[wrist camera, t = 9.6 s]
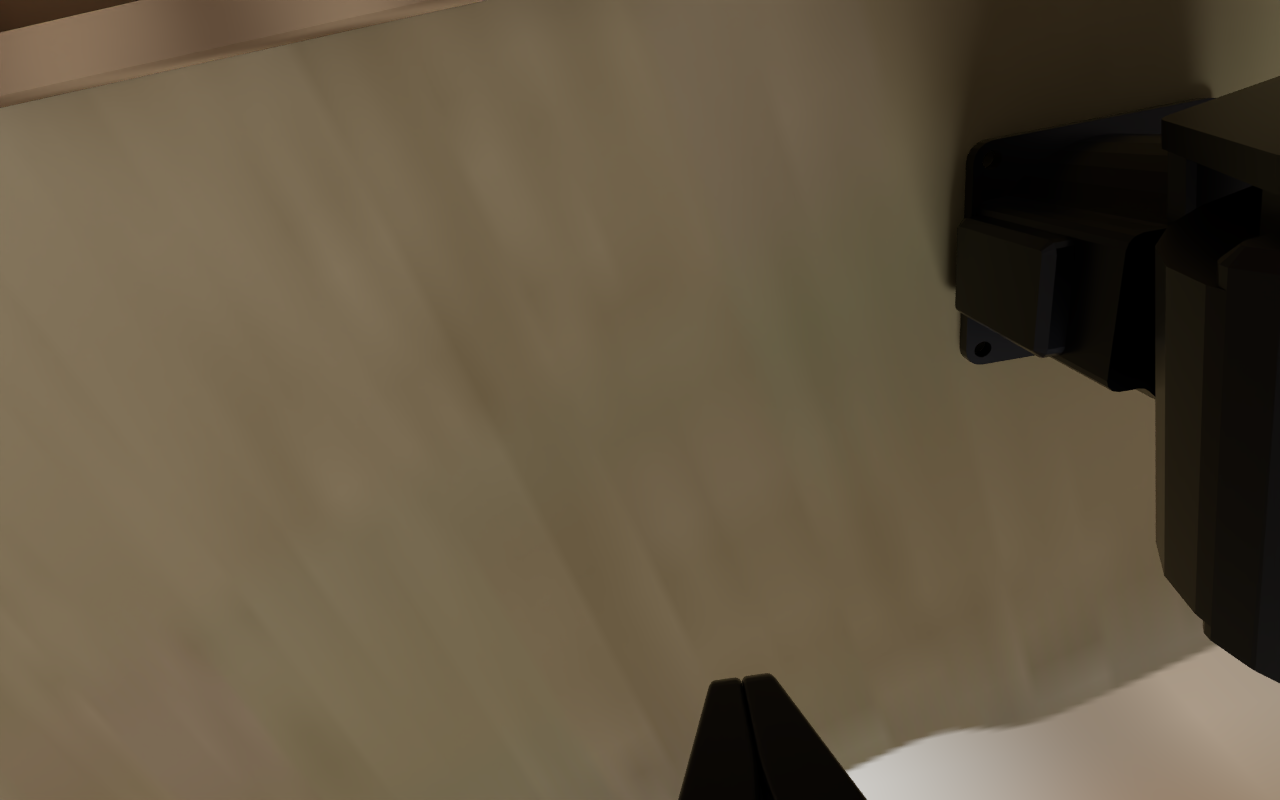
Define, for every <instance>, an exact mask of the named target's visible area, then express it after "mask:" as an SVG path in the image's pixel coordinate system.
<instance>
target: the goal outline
mask: <svg viewBox="0 0 1280 800" xmlns="http://www.w3.org/2000/svg"><path fill="white" fill-rule="evenodd" d="M480 1H485V0H139V1H135V2H131V3H126V4H122V5H117V6H113V7H109V8H104V9H100V10H96V11H91V12H87V13H83V14H78V15H74V16H70V17H65V18H61V19H57V20H52V21H48V22H44V23H39V24H35V25H31V26H26V27H22V28H18V29H13V30H9V31H5V32H0V108H1V107H6V106H10V105H15V104H20V103H24V102H29V101H33V100H38V99H42V98H47V97H51V96H56V95H60V94H65V93H69V92H74V91H78V90H83V89H87V88H92V87H96V86H101V85H105V84H110V83H114V82H119V81H123V80H128V79H132V78H137V77H141V76H146V75H150V74H155V73H159V72H164V71H169V70H173V69H178V68H182V67H187V66H191V65H196V64H200V63H205V62H209V61H214V60H218V59H223V58H227V57H232V56H236V55H241V54H245V53H250V52H254V51H259V50H263V49H268V48H272V47H277V46H281V45H286V44H290V43H295V42H299V41H304V40H309V39H313V38H318V37H322V36H327V35H331V34H336V33H340V32H345V31H349V30H354V29H358V28H363V27H367V26H372V25H376V24H381V23H385V22H390V21H394V20H399V19H403V18H408V17H412V16H417V15H421V14H426V13H430V12H435V11H439V10H444V9H448V8H453V7H458V6H462V5H467V4H471V3H476V2H480Z"/></svg>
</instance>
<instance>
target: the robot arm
mask: <svg viewBox="0 0 1280 800" xmlns="http://www.w3.org/2000/svg"><path fill="white" fill-rule="evenodd" d="M989 151H992V152H993V154H994V159H993V163H992V164H991V165H990V166H989V167H987V168H985V167H984V166H983V158H984V156H985V155H986V154H987V152H989ZM955 307H956V309H957V310H958V311H960V312H961V328H960V351H961V354H962V355H963V357H964V358H966V359H967V360H969V361H970V362H972V363H974V364H987V363H993V362H999V361H1004V360H1010V359H1016V358H1022V357H1028V356H1034V355H1036V356H1038V357H1041V358H1044V357H1051V358H1053V359H1055V360H1057V361H1059V362H1060V363H1062V364H1064V365H1066V366H1068V367H1069V368H1071V369H1073V370H1075V371H1077V372H1079V373H1080V374H1082V375H1084V376H1086V377H1088V378H1089V379H1091V380H1093V381H1095V382H1097V383H1099V384H1100V385H1102V386H1104V387H1106V388H1108V389H1110V390H1111V391H1116V392H1121V391H1127V390H1133V389H1136V390H1138V391H1140V392H1142V393H1144V394H1146V395H1148V396H1150V397H1152V398H1154V399H1155V402H1156V544H1157V548H1158V552H1159V556H1160V560H1161V564H1162V568H1163V572H1164V576H1165V577H1166V578H1167V579H1168V581H1169V582H1170V583H1171V584H1172V586H1173V587H1174V588H1175V589H1176V591H1177V592H1178V593H1179V594H1180V596H1181V597H1182V598H1183V599H1184V600H1185V602H1186V603H1187V604H1188V605H1189V607H1190V608H1191V609H1192V610H1193V612H1194V613H1195V614H1196V615H1197V616H1198V617H1200V618H1201V619H1202V620H1203V630H1204V634H1205V635H1206V636H1207V637H1208V638H1209V639H1210V640H1211V641H1212V642H1214V643H1215V644H1217V645H1218V646H1219V647H1221V648H1222V649H1224V650H1225V651H1227V652H1228V653H1229V654H1231V655H1232V656H1234V657H1235V658H1237V659H1238V660H1240V661H1241V662H1242V663H1244V664H1245V665H1247V666H1248V667H1250V668H1251V669H1253V670H1255V671H1256V672H1258V673H1260V674H1262V675H1264V676H1266V677H1268V678H1270V679H1272V680H1275V681H1276V682H1278V683H1280V76H1278V77H1276V78H1273V79H1270V80H1267V81H1264V82H1261V83H1258V84H1256V85H1253V86H1250V87H1247V88H1244V89H1241V90H1238V91H1236V92H1233V93H1230V94H1227V95H1224V96H1221V97H1218V98H1200V99H1192V100H1187V101H1181V102H1176V103H1171V104H1166V105H1161V106H1156V107H1151V108H1146V109H1140V110H1135V111H1130V112H1125V113H1120V114H1115V115H1110V116H1105V117H1099V118H1094V119H1089V120H1084V121H1079V122H1074V123H1069V124H1064V125H1058V126H1053V127H1048V128H1043V129H1038V130H1033V131H1028V132H1023V133H1017V134H1012V135H1007V136H1002V137H997V138H992V139H987V140H984V141H981V142H978V143H977V144H976V145H975V146H974V147H973V148H972V149H971V150H970V152H969V154H968V156H967V161H966V180H965V209H964V220H963V221H962V222H961V224H960V225H959V227H958V231H957V265H956V299H955ZM983 341H984V343H985V344H984V347H983V348H982V349H981V351H979V352H976V353H975V352H974V350H975V347H976V346H977V345H978V344H979V343H981V342H983ZM678 800H867V799H866V798H865V797H864V795H863V794H862V793H861V791H860V790H859V789H858V787H857V786H856V785H855V783H854V782H853V781H852V779H851V778H850V777H849V775H848V774H847V773H846V771H845V770H844V769H843V767H842V766H841V765H840V763H839V762H838V761H837V759H836V758H835V757H834V755H833V754H832V753H831V751H830V750H829V749H828V747H827V746H826V745H825V743H824V742H823V741H822V739H821V738H820V737H819V735H818V734H817V733H816V731H815V730H814V729H813V727H812V726H811V725H810V723H809V722H808V721H807V719H806V718H805V717H804V715H803V714H802V713H801V711H800V710H799V709H798V707H797V706H796V705H795V703H794V702H793V701H792V699H791V698H790V697H789V695H788V694H787V693H786V691H785V690H784V689H783V687H782V686H781V685H780V684H779V682H778V681H777V680H776V678H775V677H774V676H773V675H771V674H768V673H765V674H758V675H751V676H746V677H744V678H743V680H742V683H741V681H740V679H738V678H729V679H722V680H715V681H713V682H711V684H710V686H709V688H708V692H707V696H706V699H705V703H704V707H703V710H702V714H701V718H700V721H699V725H698V729H697V732H696V736H695V740H694V743H693V747H692V751H691V755H690V758H689V762H688V766H687V769H686V773H685V777H684V780H683V784H682V788H681V791H680V795H679V799H678Z"/></svg>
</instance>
